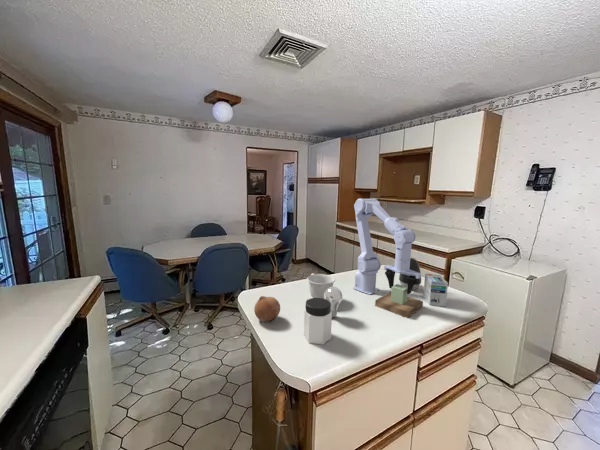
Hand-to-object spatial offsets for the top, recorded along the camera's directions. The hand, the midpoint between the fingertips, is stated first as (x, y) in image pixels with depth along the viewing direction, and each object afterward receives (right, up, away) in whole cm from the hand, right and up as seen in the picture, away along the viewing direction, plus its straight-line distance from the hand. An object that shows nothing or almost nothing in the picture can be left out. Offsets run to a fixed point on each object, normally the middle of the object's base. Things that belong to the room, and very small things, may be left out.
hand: (399, 290), depth 108 cm
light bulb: (-29, -8, -9) cm, 32 cm away
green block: (0, -5, 0) cm, 5 cm away
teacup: (-33, -6, +6) cm, 34 cm away
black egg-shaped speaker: (+13, -4, +22) cm, 26 cm away
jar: (-36, -10, -22) cm, 43 cm away
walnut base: (0, -7, +1) cm, 7 cm away
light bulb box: (+18, -7, +7) cm, 20 cm away
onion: (-54, -8, -12) cm, 55 cm away
